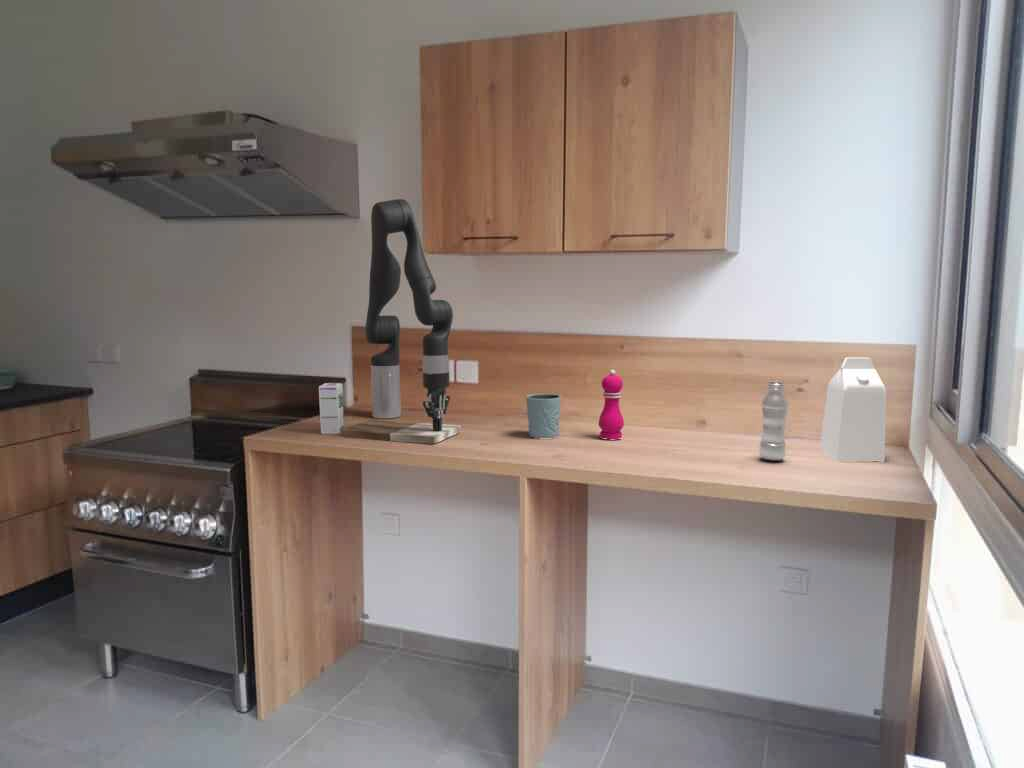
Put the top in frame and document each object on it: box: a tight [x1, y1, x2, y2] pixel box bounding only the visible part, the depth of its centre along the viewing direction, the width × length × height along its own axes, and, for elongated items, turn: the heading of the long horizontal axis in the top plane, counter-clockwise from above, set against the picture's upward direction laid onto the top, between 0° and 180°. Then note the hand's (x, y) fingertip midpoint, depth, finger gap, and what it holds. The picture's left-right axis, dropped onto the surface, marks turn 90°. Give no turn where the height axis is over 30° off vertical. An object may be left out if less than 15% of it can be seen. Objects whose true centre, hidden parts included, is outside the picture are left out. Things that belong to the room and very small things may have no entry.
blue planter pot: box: [525, 392, 562, 439], centre depth 219 cm, size 10×10×12 cm
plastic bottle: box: [758, 381, 790, 462], centre depth 191 cm, size 6×7×20 cm
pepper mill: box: [598, 369, 625, 439], centre depth 216 cm, size 7×7×20 cm
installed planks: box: [340, 418, 417, 442], centre depth 223 cm, size 17×16×2 cm
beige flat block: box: [390, 422, 461, 445], centre depth 218 cm, size 17×14×2 cm
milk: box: [819, 357, 887, 461], centre depth 195 cm, size 12×12×26 cm
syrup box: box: [318, 382, 345, 435], centre depth 223 cm, size 6×6×14 cm
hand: (437, 430), depth 216 cm, fingers closed
